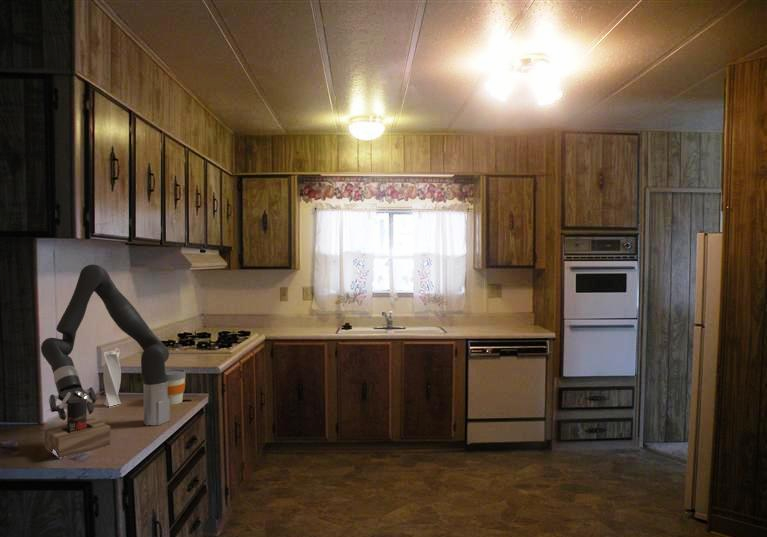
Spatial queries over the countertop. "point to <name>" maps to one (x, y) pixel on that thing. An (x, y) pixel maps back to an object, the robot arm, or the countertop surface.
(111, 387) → the skyscraper
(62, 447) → the socket block
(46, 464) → the countertop surface
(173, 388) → the reusable coffee cup
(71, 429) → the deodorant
